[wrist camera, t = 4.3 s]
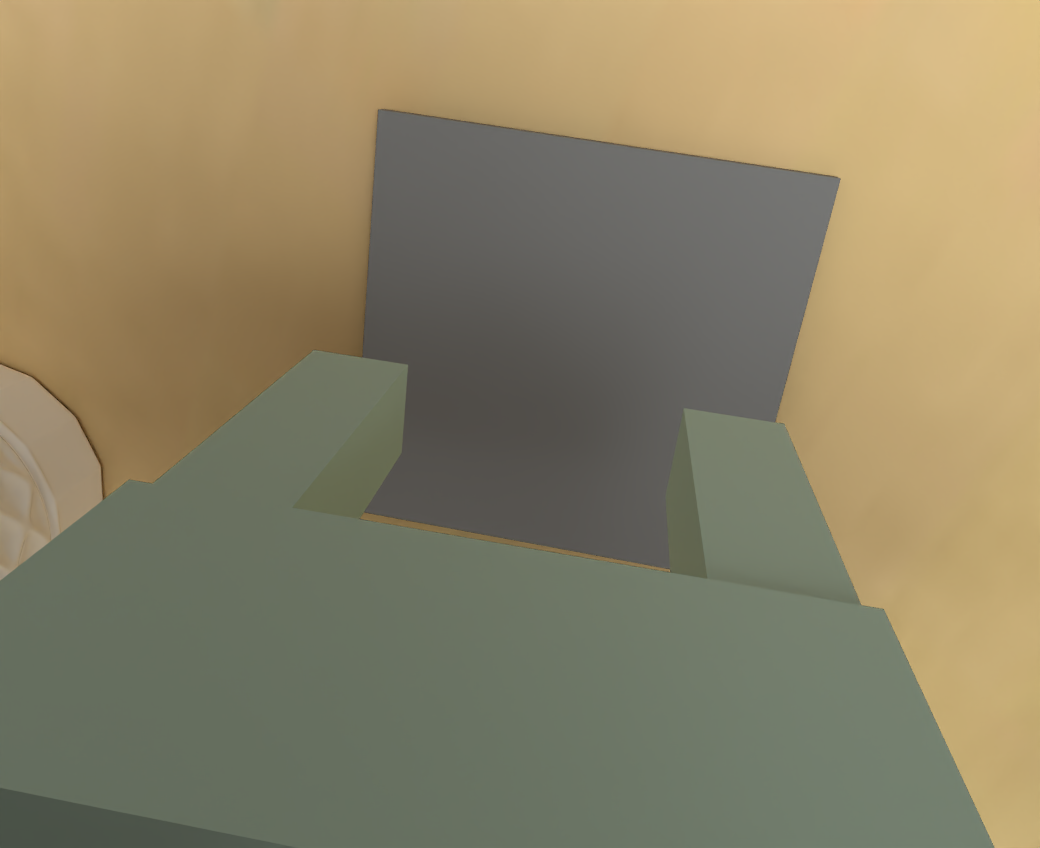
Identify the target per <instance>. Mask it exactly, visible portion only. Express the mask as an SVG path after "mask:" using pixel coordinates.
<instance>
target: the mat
mask: <svg viewBox="0 0 1040 848" xmlns="http://www.w3.org/2000/svg"><path fill="white" fill-rule="evenodd" d="M839 183H840V178H838V177H834V176H828V175H821V174H814V173H808V172H801V171H794V170H788V169H781V168H774V167H767V166H761V165H754V164H747V163H741V162H734V161H727V160H721V159H714V158H707V157H700V156H694V155H687V154H680V153H674V152H667V151H660V150H654V149H647V148H640V147H634V146H627V145H620V144H613V143H607V142H600V141H593V140H587V139H580V138H573V137H567V136H560V135H553V134H546V133H540V132H533V131H526V130H520V129H513V128H506V127H500V126H493V125H486V124H480V123H473V122H466V121H459V120H453V119H446V118H439V117H433V116H426V115H419V114H413V113H406V112H399V111H393V110H386V109H380V110H378V123H377V138H376V154H375V169H374V185H373V201H372V216H371V232H370V247H369V263H368V279H367V294H366V310H365V325H364V341H363V357H362V358H369V359H375V360H381V361H388V362H394V363H400V364H407V365H408V373H407V387H406V401H405V415H404V428H403V442H402V453H401V455H400V456H399V458H398V459H397V461H396V462H395V464H394V466H393V467H392V469H391V470H390V472H389V473H388V475H387V477H386V478H385V480H384V481H383V483H382V484H381V486H380V488H379V489H378V491H377V492H376V494H375V495H374V497H373V499H372V500H371V502H370V503H369V505H368V506H367V508H366V510H365V511H364V512H365V513H370V514H376V515H381V516H387V517H392V518H397V519H403V520H408V521H413V522H419V523H424V524H430V525H435V526H440V527H446V528H451V529H457V530H462V531H467V532H473V533H478V534H483V535H489V536H494V537H500V538H505V539H510V540H516V541H521V542H526V543H532V544H537V545H543V546H548V547H553V548H559V549H564V550H570V551H575V552H580V553H586V554H591V555H596V556H602V557H607V558H613V559H618V560H623V561H629V562H634V563H640V564H645V565H650V566H656V567H661V568H666V569H670V560H669V544H668V529H667V513H666V498H665V496H666V491H667V486H668V481H669V477H670V472H671V467H672V462H673V457H674V453H675V448H676V443H677V438H678V433H679V429H680V424H681V419H682V414H683V410H684V408H686V409H693V410H699V411H705V412H712V413H718V414H724V415H731V416H737V417H743V418H750V419H756V420H762V421H769V422H775V421H776V417H777V413H778V410H779V406H780V402H781V399H782V395H783V391H784V387H785V384H786V380H787V376H788V373H789V369H790V365H791V361H792V358H793V354H794V350H795V346H796V343H797V339H798V335H799V332H800V328H801V324H802V320H803V317H804V313H805V309H806V306H807V302H808V298H809V294H810V291H811V287H812V283H813V280H814V276H815V272H816V268H817V265H818V261H819V257H820V253H821V250H822V246H823V242H824V239H825V235H826V231H827V227H828V224H829V220H830V216H831V213H832V209H833V205H834V201H835V198H836V194H837V190H838V187H839Z"/></svg>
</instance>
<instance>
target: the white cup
mask: <svg viewBox="0 0 1040 848" xmlns="http://www.w3.org/2000/svg"><path fill="white" fill-rule="evenodd" d="M102 500H103V495H102V478H101V466H100V463H99V461H98V459H97V457H96V456H95V454H94V452H93V450H92V448H91V446H90V444H89V442H88V440H87V438H86V436H85V434H84V432H83V430H82V428H81V426H80V424H79V423H78V421H77V419H76V417H75V416H74V415H73V414H72V413H71V412H70V411H69V410H68V409H66V408H65V407H64V406H63V405H62V404H61V403H60V402H59V401H58V400H57V399H56V398H55V397H53V396H52V395H51V394H50V393H49V392H48V391H47V390H46V389H45V388H44V387H42V386H41V385H40V384H39V383H38V382H37V381H36V380H35V379H34V378H32V377H31V376H28V375H26V374H23V373H21V372H18V371H16V370H13V369H11V368H8V367H6V366H4V365H1V364H0V580H2V579H3V578H4V577H5V576H7V575H8V574H9V573H10V572H12V571H13V570H14V569H16V568H17V567H18V566H19V565H21V564H22V563H23V562H25V561H26V560H27V559H28V558H30V557H31V556H32V555H33V554H35V553H36V552H37V551H39V550H40V549H41V548H42V547H44V546H45V545H46V544H48V543H49V542H50V541H51V540H53V539H54V538H55V537H56V536H58V535H59V534H60V533H62V532H63V531H64V530H65V529H67V528H68V527H69V526H71V525H72V524H73V523H74V522H76V521H77V520H78V519H79V518H81V517H82V516H83V515H85V514H86V513H87V512H88V511H90V510H91V509H92V508H94V507H95V506H96V505H97V504H99V503H100V502H101V501H102Z"/></svg>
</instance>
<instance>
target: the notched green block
mask: <svg viewBox="0 0 1040 848" xmlns="http://www.w3.org/2000/svg"><path fill="white" fill-rule="evenodd" d="M407 373H408V365H407V364H400V363H394V362H388V361H381V360H375V359H369V358H362V357H356V356H350V355H343V354H337V353H331V352H324V351H318V350H313V351H312V352H311V353H310V354H308V355H307V356H306V357H305V358H304V359H302V360H301V361H300V362H299V363H297V364H296V365H295V366H294V367H293V368H291V369H290V370H289V371H288V372H287V373H285V374H284V375H283V376H282V377H281V378H279V379H278V380H277V381H276V382H275V383H273V384H272V385H271V386H270V387H269V388H267V389H266V390H265V391H264V392H262V393H261V394H260V395H259V396H258V397H256V398H255V399H254V400H253V401H252V402H250V403H249V404H248V405H247V406H246V407H244V408H243V409H242V410H241V411H240V412H238V413H237V414H236V415H235V416H233V417H232V418H231V419H230V420H229V421H227V422H226V423H225V424H224V425H223V426H221V427H220V428H219V429H218V430H217V431H215V432H214V433H213V434H212V435H211V436H209V437H208V438H207V439H206V440H205V441H203V442H202V443H201V444H200V445H198V446H197V447H196V448H195V449H194V450H192V451H191V452H190V453H189V454H188V455H186V456H185V457H184V458H183V459H182V460H180V461H179V462H178V463H177V464H176V465H174V466H173V467H172V468H171V469H170V470H168V471H167V472H166V473H165V474H163V475H162V476H161V477H160V478H159V479H157V480H156V481H155V482H154V483H153V484H152V483H146V482H140V481H134V480H128V481H127V482H125V483H124V484H123V485H122V486H120V487H119V488H118V489H117V490H115V491H114V492H113V493H111V494H110V495H109V496H108V497H106V498H105V499H104V500H102V501H101V502H100V503H99V504H97V505H96V506H95V507H94V508H92V509H91V510H90V511H88V512H87V513H86V514H85V515H83V516H82V517H81V518H79V519H78V520H77V521H76V522H74V523H73V524H72V525H71V526H69V527H68V528H67V529H65V530H64V531H63V532H62V533H60V534H59V535H58V536H56V537H55V538H54V539H53V540H51V541H50V542H49V543H48V544H46V545H45V546H44V547H42V548H41V549H40V550H39V551H37V552H36V553H35V554H33V555H32V556H31V557H30V558H28V559H27V560H26V561H25V562H23V563H22V564H21V565H19V566H18V567H17V568H16V569H14V570H13V571H12V572H10V573H9V574H8V575H7V576H5V577H4V578H3V579H2V580H0V848H994V846H993V843H992V841H991V839H990V837H989V835H988V833H987V830H986V828H985V826H984V824H983V822H982V820H981V818H980V815H979V813H978V811H977V809H976V807H975V805H974V802H973V800H972V798H971V796H970V794H969V792H968V790H967V787H966V785H965V783H964V781H963V779H962V777H961V774H960V772H959V770H958V768H957V766H956V764H955V762H954V759H953V757H952V755H951V753H950V751H949V749H948V746H947V744H946V742H945V740H944V738H943V736H942V734H941V731H940V729H939V727H938V725H937V723H936V721H935V718H934V716H933V714H932V712H931V710H930V708H929V706H928V703H927V701H926V699H925V697H924V695H923V693H922V690H921V688H920V686H919V684H918V682H917V680H916V678H915V675H914V673H913V671H912V669H911V667H910V665H909V662H908V660H907V658H906V656H905V654H904V652H903V650H902V647H901V645H900V643H899V641H898V639H897V637H896V634H895V632H894V630H893V628H892V626H891V624H890V622H889V619H888V617H887V615H886V613H885V611H884V609H880V608H874V607H868V606H862V605H861V603H860V601H859V599H858V596H857V594H856V591H855V589H854V587H853V584H852V582H851V580H850V577H849V575H848V573H847V570H846V568H845V566H844V563H843V561H842V559H841V556H840V554H839V551H838V549H837V547H836V544H835V542H834V540H833V537H832V535H831V533H830V530H829V528H828V526H827V523H826V521H825V519H824V516H823V514H822V511H821V509H820V507H819V504H818V502H817V500H816V497H815V495H814V493H813V490H812V488H811V486H810V483H809V481H808V479H807V476H806V474H805V471H804V469H803V467H802V464H801V462H800V460H799V457H798V455H797V453H796V450H795V448H794V446H793V443H792V441H791V439H790V436H789V434H788V432H787V429H786V427H785V424H781V423H775V422H769V421H762V420H756V419H750V418H743V417H737V416H731V415H724V414H718V413H712V412H705V411H699V410H693V409H686V408H684V410H683V414H682V419H681V424H680V429H679V433H678V438H677V443H676V448H675V453H674V457H673V462H672V467H671V472H670V477H669V481H668V486H667V491H666V496H665V498H666V513H667V529H668V544H669V560H670V572H664V571H658V570H653V569H647V568H641V567H635V566H629V565H624V564H618V563H612V562H606V561H600V560H594V559H589V558H583V557H577V556H571V555H565V554H559V553H554V552H548V551H542V550H536V549H530V548H524V547H519V546H513V545H507V544H501V543H495V542H490V541H484V540H478V539H472V538H466V537H460V536H455V535H449V534H443V533H437V532H431V531H425V530H420V529H414V528H408V527H402V526H396V525H391V524H385V523H379V522H373V521H367V520H361V519H360V517H361V516H362V514H363V513H364V511H365V510H366V508H367V506H368V505H369V503H370V502H371V500H372V499H373V497H374V495H375V494H376V492H377V491H378V489H379V488H380V486H381V484H382V483H383V481H384V480H385V478H386V477H387V475H388V473H389V472H390V470H391V469H392V467H393V466H394V464H395V462H396V461H397V459H398V458H399V456H400V455H401V453H402V442H403V428H404V415H405V401H406V387H407Z"/></svg>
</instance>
